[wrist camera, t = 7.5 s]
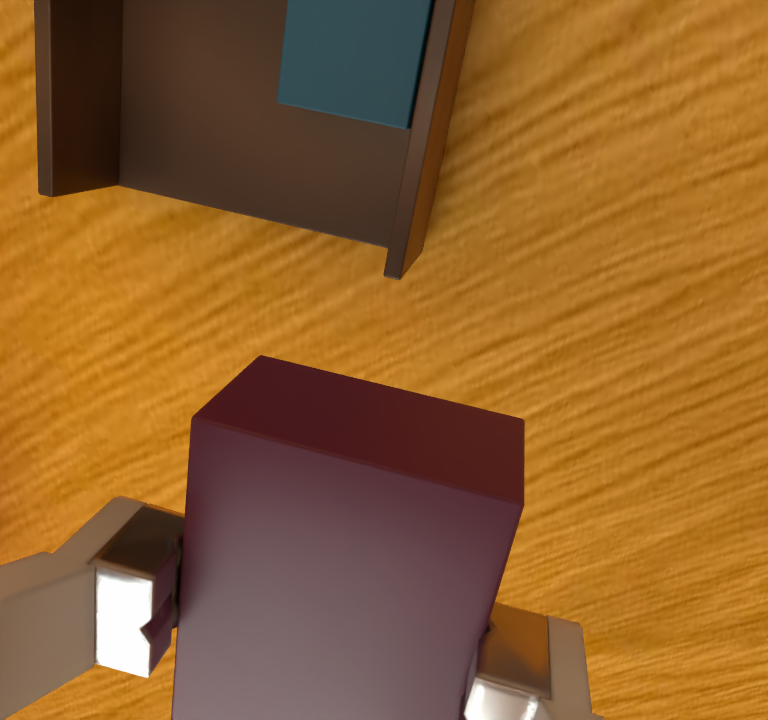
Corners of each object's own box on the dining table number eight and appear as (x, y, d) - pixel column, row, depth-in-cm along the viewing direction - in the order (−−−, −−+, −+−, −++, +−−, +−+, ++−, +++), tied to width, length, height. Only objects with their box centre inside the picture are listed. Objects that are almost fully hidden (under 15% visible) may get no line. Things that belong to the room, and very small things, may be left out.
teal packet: (323, -89, 22) (299, -112, 19) (457, -67, 21) (447, -88, 19) (300, 103, 24) (275, 102, 22) (419, 128, 23) (407, 130, 21)
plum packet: (259, 353, 11) (190, 416, 9) (525, 418, 10) (525, 503, 8) (230, 624, 13) (169, 730, 11) (447, 689, 13) (431, 815, 10)
